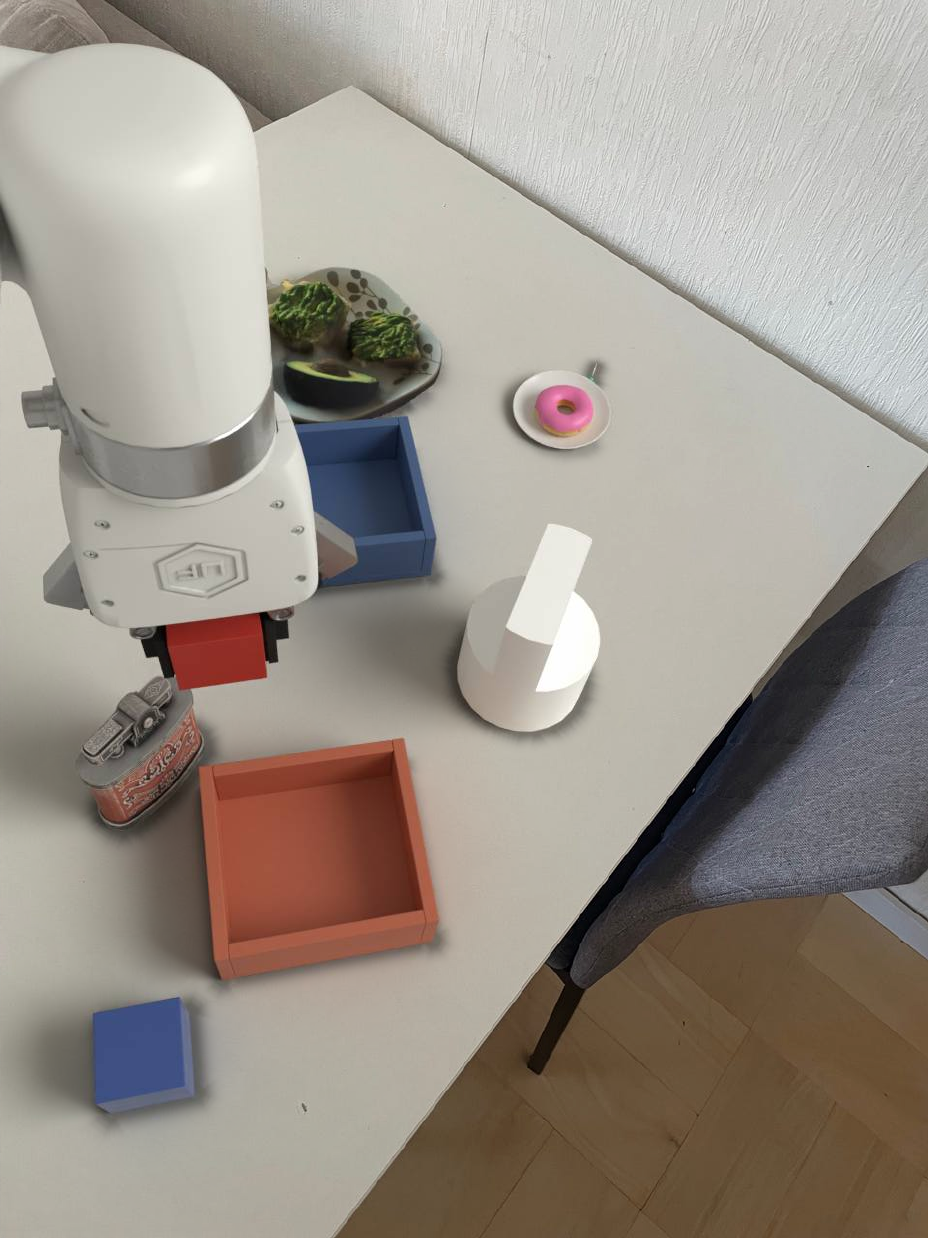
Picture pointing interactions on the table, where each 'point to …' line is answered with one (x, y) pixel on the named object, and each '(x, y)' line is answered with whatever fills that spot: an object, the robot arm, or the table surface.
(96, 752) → the lighter
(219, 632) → the red block
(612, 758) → the table surface
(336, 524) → the blue bin
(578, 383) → the donut
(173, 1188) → the table surface
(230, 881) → the terracotta bin
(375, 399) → the salad plate
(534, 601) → the cylinder with rectangular tab
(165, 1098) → the blue block
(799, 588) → the table surface
